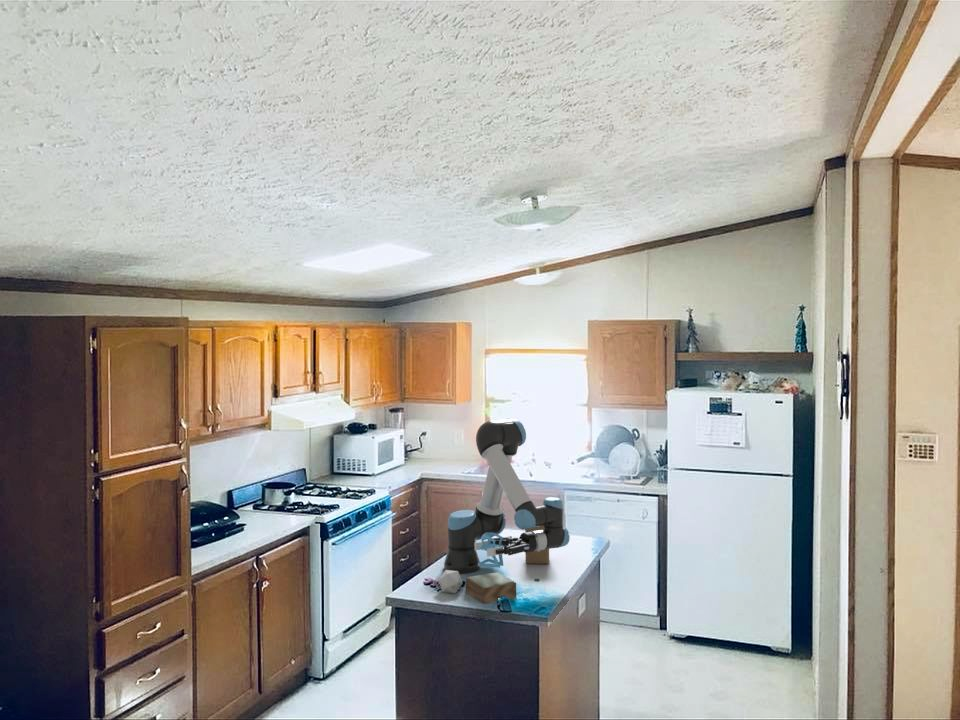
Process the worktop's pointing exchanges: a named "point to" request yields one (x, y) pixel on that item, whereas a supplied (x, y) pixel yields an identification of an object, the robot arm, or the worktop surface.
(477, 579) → the base block
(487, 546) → the chair
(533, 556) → the block
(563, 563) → the worktop surface
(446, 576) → the die
